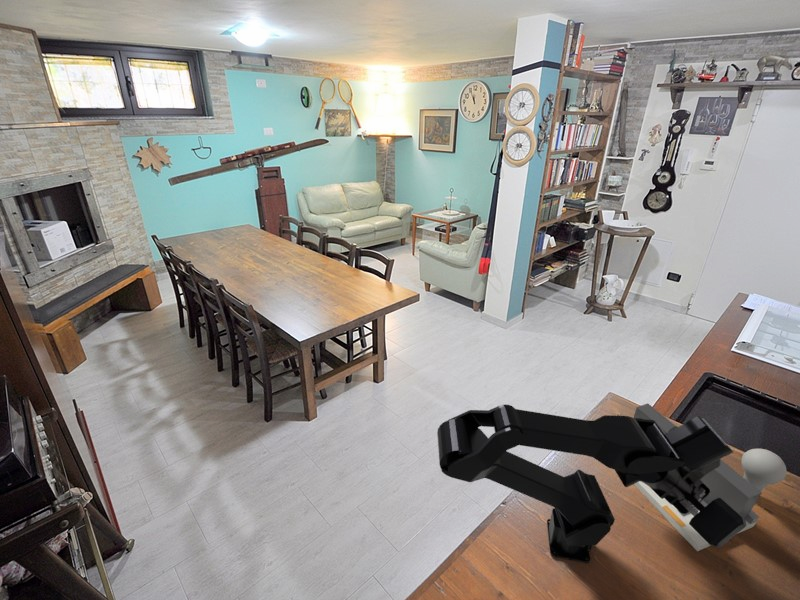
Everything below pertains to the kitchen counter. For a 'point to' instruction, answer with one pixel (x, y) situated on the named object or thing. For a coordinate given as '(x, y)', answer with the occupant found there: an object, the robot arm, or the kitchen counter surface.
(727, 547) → the kitchen counter surface
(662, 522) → the kitchen counter surface
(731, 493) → the block
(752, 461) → the lightbulb
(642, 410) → the block
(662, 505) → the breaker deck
